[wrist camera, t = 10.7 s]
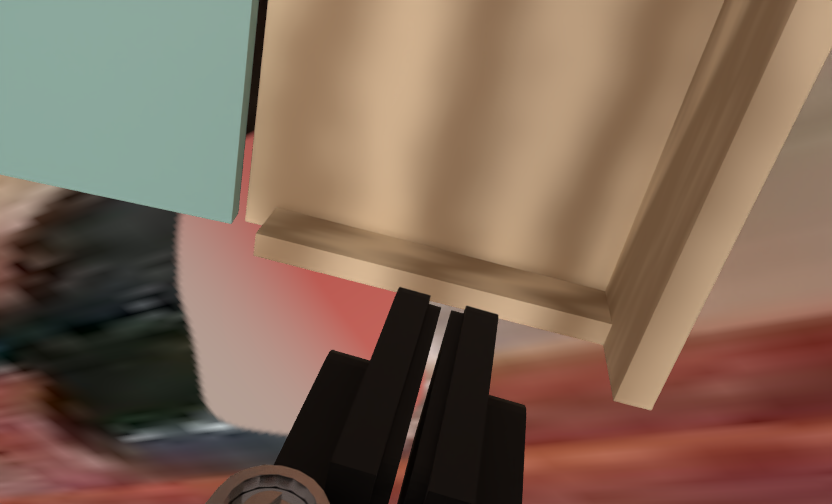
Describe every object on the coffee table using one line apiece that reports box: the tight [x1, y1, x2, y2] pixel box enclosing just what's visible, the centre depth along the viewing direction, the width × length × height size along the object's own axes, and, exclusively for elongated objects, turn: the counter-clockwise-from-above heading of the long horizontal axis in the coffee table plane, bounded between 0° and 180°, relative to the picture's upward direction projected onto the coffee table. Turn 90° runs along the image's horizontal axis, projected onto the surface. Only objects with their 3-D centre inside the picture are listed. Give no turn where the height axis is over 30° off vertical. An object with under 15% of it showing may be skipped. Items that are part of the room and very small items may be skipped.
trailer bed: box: [245, 0, 832, 410], centre depth 28 cm, size 20×20×10 cm
